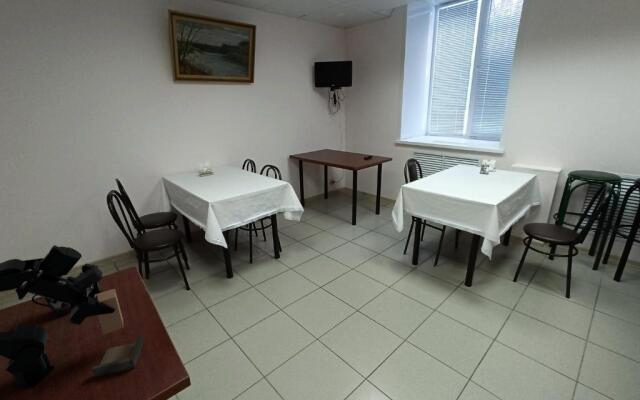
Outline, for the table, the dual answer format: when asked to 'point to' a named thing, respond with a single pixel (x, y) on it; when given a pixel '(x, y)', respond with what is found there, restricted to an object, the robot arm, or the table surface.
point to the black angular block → (56, 307)
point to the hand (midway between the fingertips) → (114, 306)
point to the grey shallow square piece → (119, 358)
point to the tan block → (112, 319)
